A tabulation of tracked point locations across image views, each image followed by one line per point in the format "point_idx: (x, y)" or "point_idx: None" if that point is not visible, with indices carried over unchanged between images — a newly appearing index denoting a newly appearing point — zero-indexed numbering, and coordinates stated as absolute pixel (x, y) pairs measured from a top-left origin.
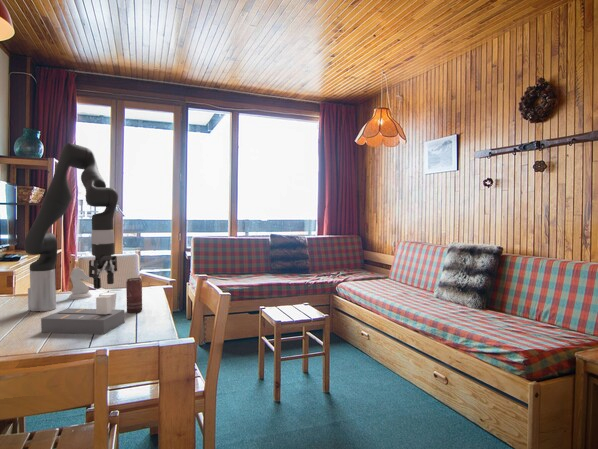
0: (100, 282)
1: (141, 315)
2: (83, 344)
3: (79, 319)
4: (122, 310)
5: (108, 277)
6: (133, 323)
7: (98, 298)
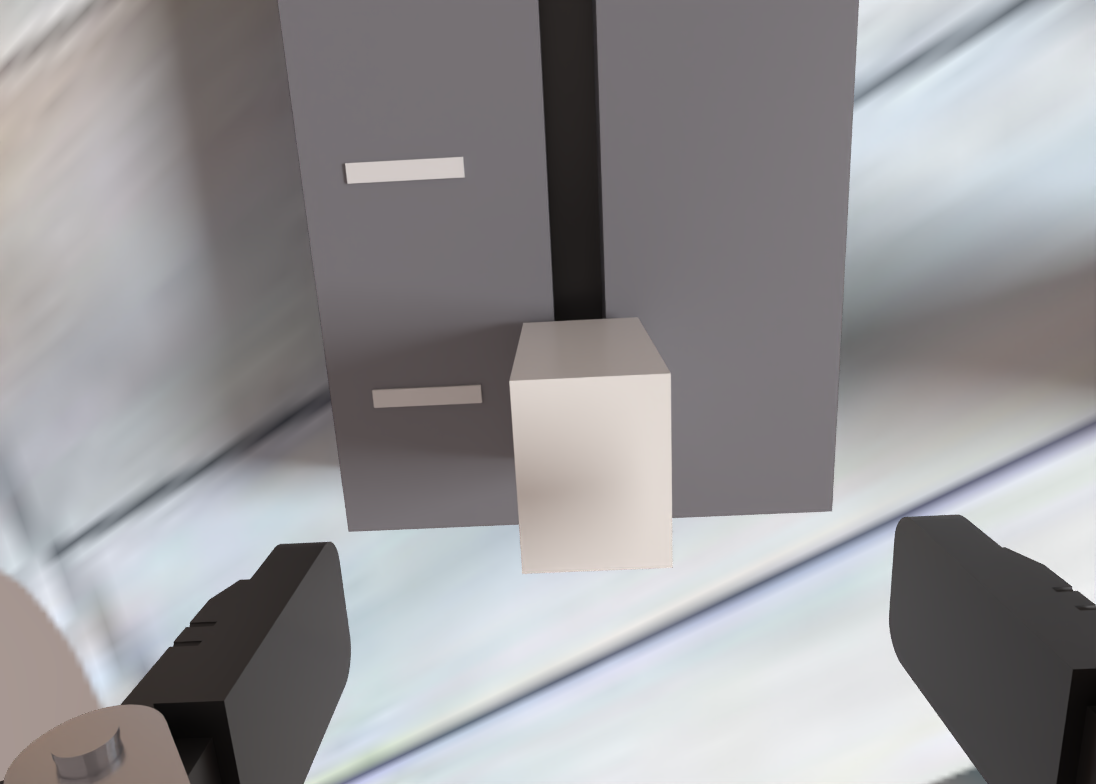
0: (295, 774)
1: (1076, 481)
2: (96, 461)
3: (307, 222)
4: (792, 508)
5: (997, 645)
6: (760, 552)
7: (515, 420)
